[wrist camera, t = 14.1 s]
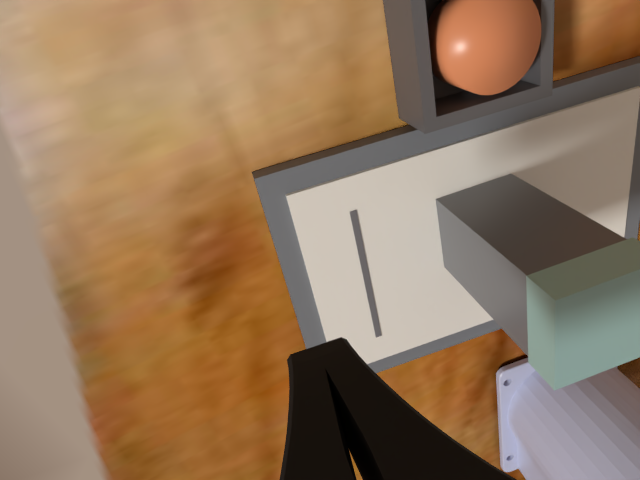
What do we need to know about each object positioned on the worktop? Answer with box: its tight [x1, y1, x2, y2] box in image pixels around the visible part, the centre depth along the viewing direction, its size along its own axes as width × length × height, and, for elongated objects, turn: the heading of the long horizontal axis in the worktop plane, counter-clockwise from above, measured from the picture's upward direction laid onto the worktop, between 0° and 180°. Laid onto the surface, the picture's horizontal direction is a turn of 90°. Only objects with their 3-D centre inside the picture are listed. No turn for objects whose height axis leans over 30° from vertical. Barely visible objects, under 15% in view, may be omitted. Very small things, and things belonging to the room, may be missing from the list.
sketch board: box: [252, 56, 640, 373], centre depth 23 cm, size 12×18×1 cm, turn 102°
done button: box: [427, 0, 541, 95], centre depth 17 cm, size 3×3×2 cm
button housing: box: [383, 0, 554, 134], centre depth 18 cm, size 5×5×2 cm
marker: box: [436, 174, 640, 391], centre depth 19 cm, size 4×4×8 cm
